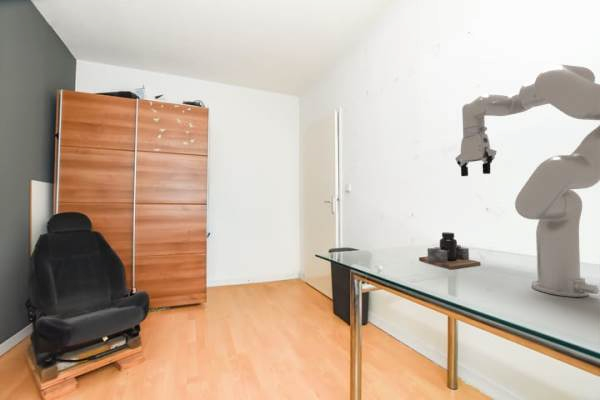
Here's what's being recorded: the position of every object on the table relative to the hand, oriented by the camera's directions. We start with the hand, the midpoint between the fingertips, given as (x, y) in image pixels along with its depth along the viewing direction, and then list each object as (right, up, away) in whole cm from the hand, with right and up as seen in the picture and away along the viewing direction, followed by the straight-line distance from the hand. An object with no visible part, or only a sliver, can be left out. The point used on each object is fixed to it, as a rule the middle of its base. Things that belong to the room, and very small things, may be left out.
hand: (475, 174), depth 110 cm
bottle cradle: (-5, -39, +11) cm, 40 cm away
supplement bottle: (-5, -37, +10) cm, 39 cm away
